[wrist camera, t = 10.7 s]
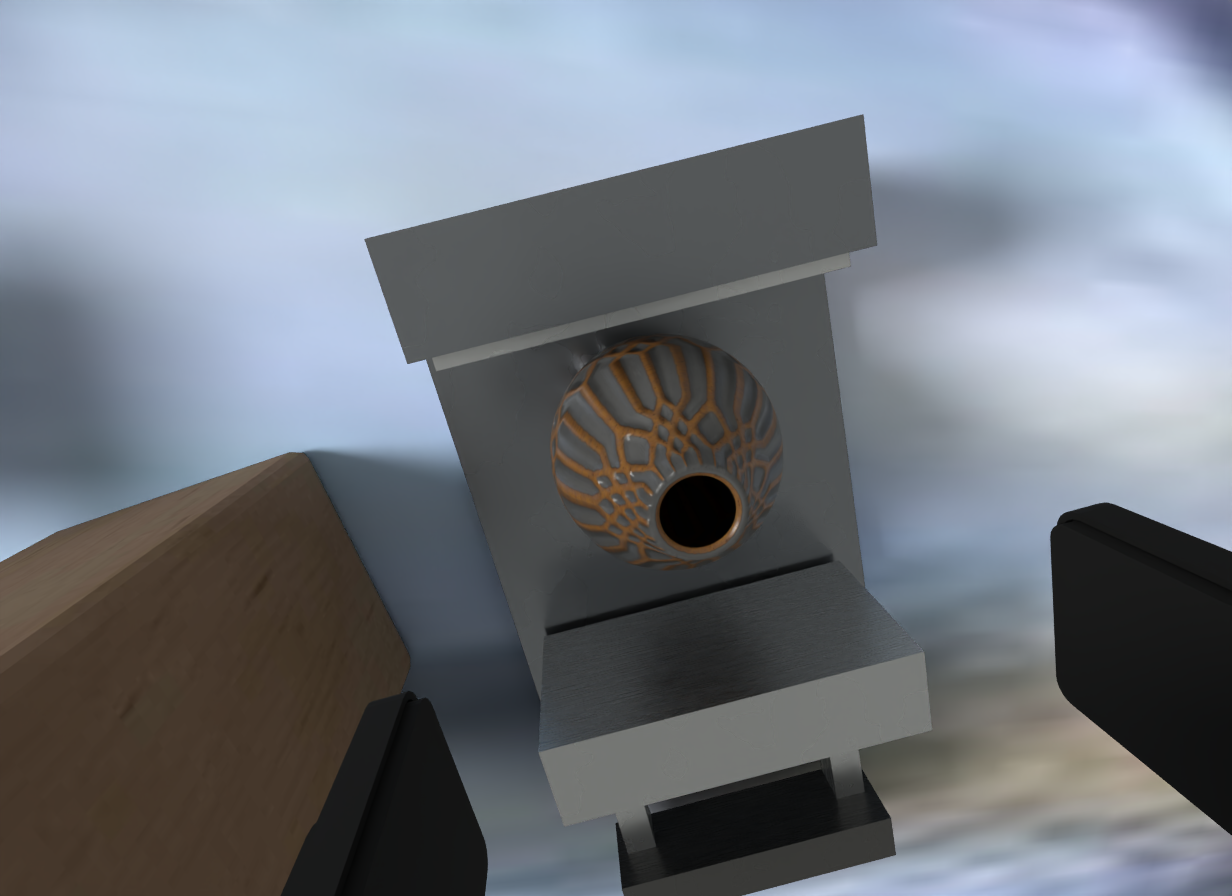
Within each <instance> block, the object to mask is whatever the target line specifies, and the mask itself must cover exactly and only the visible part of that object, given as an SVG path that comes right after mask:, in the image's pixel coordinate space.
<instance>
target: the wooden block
mask: <svg viewBox="0 0 1232 896" xmlns="http://www.w3.org/2000/svg"><path fill="white" fill-rule="evenodd" d="M410 667H411V665H410V656H409V653H408V651H407V649H406V647H405V645H404V643H403V642H402V640H401V638H400V636H399V634H398V632H397V630H396V628H395V626H394V624H393V622H392V620H391V618H390V616H389V614H388V612H387V610H386V608H385V606H384V604H383V602H382V600H381V599H380V597H379V595H378V593H377V591H376V589H375V587H374V585H373V583H372V581H371V579H370V577H369V575H368V573H367V571H366V569H365V567H364V565H363V563H362V561H361V559H360V557H359V555H358V554H357V552H356V550H355V548H354V546H353V544H352V542H351V540H350V538H349V536H348V534H347V532H346V530H345V528H344V526H343V524H342V522H341V520H340V518H339V516H338V514H337V512H336V511H335V509H334V507H333V505H332V503H331V501H330V499H329V497H328V495H327V493H326V491H325V489H324V487H323V485H322V483H321V481H320V479H319V477H318V475H317V473H316V471H315V469H314V467H313V466H312V464H311V462H310V460H309V458H308V457H307V456H306V455H305V454H304V453H294V452H289V453H286V454H283V455H280V456H277V457H274V458H271V459H269V460H266V461H263V462H260V463H257V464H254V465H251V466H248V467H245V468H242V469H239V470H236V471H233V472H231V473H228V474H225V475H222V476H219V477H216V478H213V479H210V480H207V481H204V482H201V483H198V484H195V485H193V486H190V487H187V488H184V489H181V490H178V491H175V492H172V493H169V494H166V495H163V496H160V497H157V498H155V499H152V500H149V501H146V502H143V503H140V504H137V505H134V506H131V507H128V508H125V509H122V510H119V511H117V512H114V513H111V514H108V515H105V516H102V517H99V518H96V519H93V520H90V521H87V522H84V523H81V524H79V525H76V526H73V527H70V528H67V529H64V530H61V531H58V532H56V533H54V534H52V535H50V536H48V537H46V538H45V539H43V540H41V541H39V542H37V543H35V544H33V545H32V546H30V547H28V548H26V549H24V550H22V551H20V552H19V553H17V554H15V555H13V556H11V557H9V558H7V559H6V560H4V561H2V562H0V896H281V893H282V891H283V889H284V886H285V884H286V882H287V880H288V877H289V875H290V873H291V870H292V868H293V866H294V863H295V861H296V859H297V857H298V854H299V852H300V850H301V847H302V845H303V843H304V841H305V838H306V836H307V834H308V833H309V831H310V829H311V828H312V826H313V825H314V824H315V823H316V822H317V820H318V818H319V815H320V813H321V811H322V808H323V806H324V804H325V801H326V799H327V797H328V794H329V792H330V790H331V787H332V785H333V783H334V780H335V778H336V776H337V773H338V771H339V769H340V766H341V764H342V762H343V759H344V757H345V755H346V752H347V750H348V748H349V745H350V743H351V741H352V738H353V736H354V734H355V731H356V729H357V727H358V724H359V722H360V720H361V717H362V715H363V713H364V710H365V708H366V707H367V705H368V703H370V702H372V701H375V700H379V699H382V698H386V697H390V696H393V695H397V694H400V693H401V691H402V688H403V685H404V683H405V680H406V677H407V675H408V672H409V669H410Z"/></svg>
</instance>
